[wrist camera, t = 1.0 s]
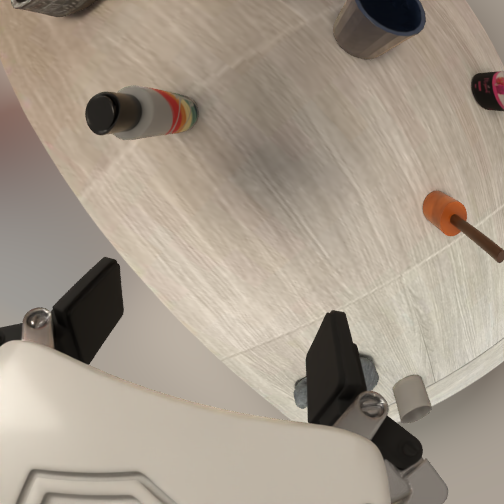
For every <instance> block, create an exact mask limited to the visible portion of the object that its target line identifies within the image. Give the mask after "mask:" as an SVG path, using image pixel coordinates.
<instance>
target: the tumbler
mask: <svg viewBox="0 0 504 504" xmlns="http://www.w3.org/2000/svg"><path fill="white" fill-rule="evenodd" d="M425 22H426V18H425V11H424V9H423V7H422V4H421V2H420V1H419V0H346V2H345V4H344V6H343V8H342V9H341V11H340V13H339V15H338V17H337V19H336V21H335V23H334V26H333V34H334V37H335V39H336V41H337V43H338V44H339V46H340V47H341V48H342V49H343V50H344V51H346V52H347V53H349V54H350V55H352V56H354V57H357V58H361V59H374V58H377V57H379V56H381V55H383V54H384V53H386V52H387V51H389V50H391V49H392V48H394V47H396V46H397V45H399V44H401V43H402V42H404V41H406V40H408V39H409V38H411V37H413V36H415V35H416V34H418V33H419V32H420V31H421V30H422V29H423V28H424V25H425Z"/></svg>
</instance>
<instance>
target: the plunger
mask: <svg viewBox="0 0 504 504" xmlns="http://www.w3.org/2000/svg"><path fill="white" fill-rule="evenodd" d="M423 213H424V216H425V218H426V219H427V220H428V221H430V222H431V223H432V224H433V225H435V226H436V227H437V228H438V229H439V230H441V231H442V232H443V233H444V234H445V235H447V236H455V235H457V234H458V233H460V232H463V233H464V234H465V235H466V236H468V237H469V238H470V239H471V240H473V241H474V242H475V243H476V244H477V245H479V246H480V247H481V248H482V249H483V250H484V251H486V252H487V253H488V254H489V255H490V256H491V257H492V258H494V259H495V260H496V261H497V262H498V263H501V262H502V261H503V260H504V250H503V249H502V248H500V247H499V246H498V245H497V244H495V243H494V242H493V241H492V240H490V239H489V238H488V237H487V236H485V235H484V234H483V233H481V232H480V231H479V230H477V229H476V228H475V227H473V226H472V225H470V224H469V223H468V222H466V219H467V212H466V209H465V207H464V205H463V204H462V203H460V202H458V201H457V200H455V199H453V198H452V197H450V196H448V195H446V194H444V193H443V192H441V191H433V192H431V193H430V194H428V195H427V197H426V198H425V200H424V203H423Z"/></svg>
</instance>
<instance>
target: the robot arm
mask: <svg viewBox="0 0 504 504" xmlns="http://www.w3.org/2000/svg"><path fill="white" fill-rule="evenodd" d="M123 311H124V308H123V298H122V289H121V276H120V266H119V264H117V261H116V260H115V259H111V258H107V257H104V258H103V259H101V260H100V261H99V262H98V263H97V264H96V265H95V266H94V267H93V268H92V269H90V270H89V271H88V272H87V273H86V274H85V275H84V276H83V277H82V278H81V279H80V280H79V281H78V282H77V283H76V284H75V285H74V286H73V287H72V288H71V289H70V290H69V291H68V292H67V293H66V294H65V295H64V296H63V297H62V298H61V299H60V300H59V301H58V302H57V303H56V304H55V305H54V306H53V310H52V311H51V312H50V311H49V310H47V309H46V308H35V309H32V310H30V311H29V312H27V313H26V315H25V316H24V319H23V323H21V324H16V325H11V326H6V327H1V328H0V504H443V503H444V502H445V500H446V499H447V496H448V488H447V486H446V484H445V483H444V481H443V480H442V478H441V477H440V476H439V474H438V473H437V472H436V470H435V469H434V468H433V466H432V465H431V464H430V462H429V461H428V460H427V459H425V460H424V459H423V458H422V453H423V449H422V445H421V443H420V441H419V440H418V439H417V438H416V437H414V436H413V435H412V434H410V433H409V432H408V431H406V430H405V429H404V428H403V427H401V426H400V425H399V424H397V423H396V422H395V421H394V420H392V419H391V418H390V417H388V416H387V414H388V404H387V401H386V400H385V399H384V397H382V396H381V395H380V394H378V393H376V392H373V391H367V387H366V382H365V378H364V373H363V369H362V364H361V360H360V356H359V352H358V348H357V345H356V344H354V343H353V341H352V337H351V333H350V329H349V325H348V321H347V318H346V314H345V313H344V312H340V311H335V310H332V311H331V312H330V313H326V315H325V317H324V319H323V322H322V324H321V326H320V328H319V330H318V332H317V335H316V337H315V339H314V341H313V343H312V345H311V347H310V349H309V351H308V353H307V356H306V377H307V406H308V423H304V422H295V421H287V420H280V419H273V418H268V417H261V416H255V415H249V414H244V413H238V412H234V411H229V410H224V409H219V408H215V407H211V406H206V405H203V404H199V403H195V402H191V401H188V400H184V399H180V398H177V397H174V396H170V395H167V394H163V393H161V392H157V391H155V390H151V389H148V388H145V387H143V386H140V385H137V384H134V383H132V382H129V381H126V380H124V379H121V378H118V377H116V376H113V375H111V374H108V373H106V372H104V371H101V370H99V369H97V368H94V367H92V366H90V365H89V364H90V362H91V361H92V359H93V358H94V356H95V355H96V353H97V352H98V350H99V349H100V347H101V346H102V344H103V343H104V341H105V340H106V338H107V337H108V336H109V334H110V333H111V331H112V330H113V328H114V327H115V326H116V324H117V323H118V321H119V320H120V318H121V317H122V315H123ZM311 423H312V424H311Z"/></svg>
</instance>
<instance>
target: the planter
mask: <svg viewBox="0 0 504 504" xmlns="http://www.w3.org/2000/svg"><path fill="white" fill-rule="evenodd" d="M95 1H96V0H11V3H12V6H13V7H14V8H17V9H23V10H28V11H32V12H38V13H43V14H46V15H50V16H55V17H62V16H66V15H69V14H72V13H75V12H78V11H80V10H83V9H85V8H87V7H89V6H90V5H92V4H93V3H94V2H95Z"/></svg>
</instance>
